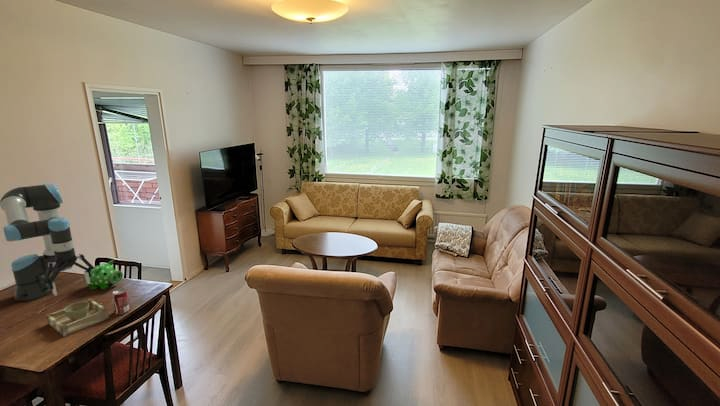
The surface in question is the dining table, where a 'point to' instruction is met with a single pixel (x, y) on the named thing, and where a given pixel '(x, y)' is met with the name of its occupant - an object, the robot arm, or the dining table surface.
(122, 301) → the soda can
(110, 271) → the piggy bank
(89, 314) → the crate
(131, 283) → the dining table surface
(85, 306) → the flower pot
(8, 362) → the dining table surface
